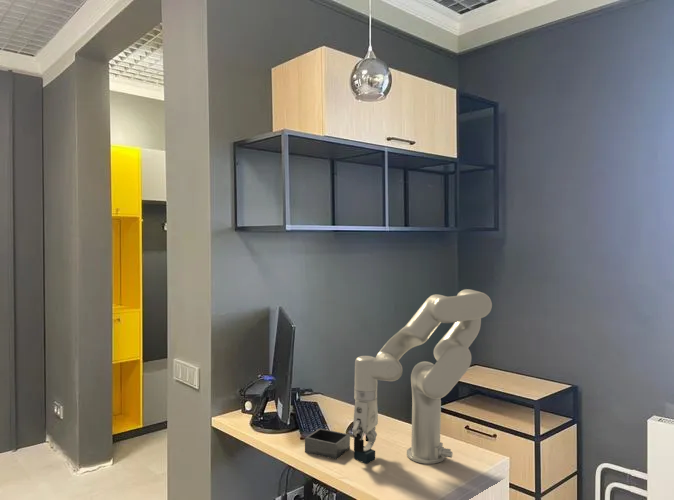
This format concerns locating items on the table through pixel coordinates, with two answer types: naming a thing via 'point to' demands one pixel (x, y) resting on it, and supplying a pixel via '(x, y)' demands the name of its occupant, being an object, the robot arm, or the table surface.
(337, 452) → the open box
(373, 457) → the watch
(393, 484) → the table surface
